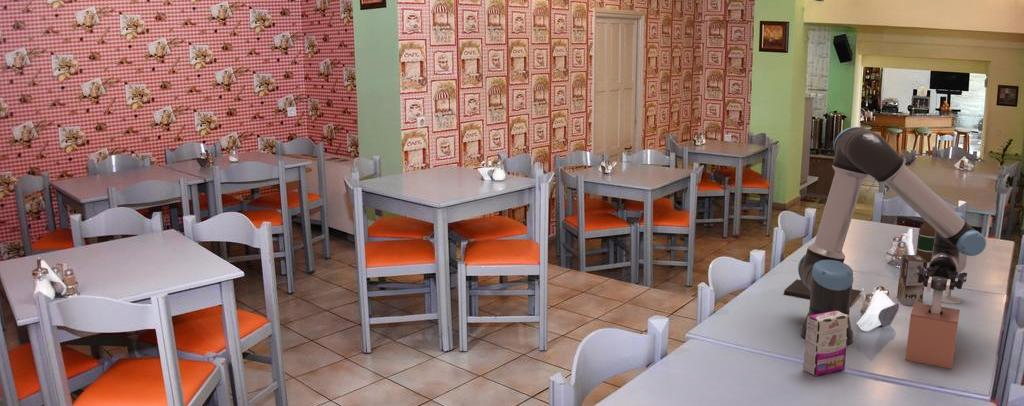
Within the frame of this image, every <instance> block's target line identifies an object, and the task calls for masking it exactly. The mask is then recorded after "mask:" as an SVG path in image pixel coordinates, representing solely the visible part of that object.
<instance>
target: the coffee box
mask: <svg viewBox="0 0 1024 406" xmlns="http://www.w3.org/2000/svg"><path fill="white" fill-rule="evenodd" d="M900 255H901V256H900V264H899V265H900V266H899V272H898V273H899V274H898V281H897V282H898V283H897V294H896V298H897V299H898V300H899V302H900V303H901V304H902V305H904V306H914V303H922V304H923V299H924V293H925V292H924V290H925V287H924V282H922V283H918V275H917V267H918V266H921V267H923V268H925V269H926V268H928V263H929V262H927V261H926V260H925V259H923V258H922V257H921V256H920V255H916V254H900ZM926 275H927V274H926V273H925V274H924V276H926Z"/></svg>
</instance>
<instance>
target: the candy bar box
mask: <svg viewBox="0 0 1024 406" xmlns="http://www.w3.org/2000/svg"><path fill="white" fill-rule="evenodd" d="M806 316H807V315H806ZM849 319H850V314H849V315H847V314H844V313H842V312H840V311H832V312H826V313H821V314H816V315H810V316H807V326H806V339H805V342H804V354H803V355H804V356H803V368H802V369H803V371H804V372H806V373H808V374H810V375H812V376H814V377H819V376H823V375H827V374H831V373H837V372H840V371H844V370H845V369H846V368H845V367H846V354H847V347H848V345H847V334H848V322H849Z"/></svg>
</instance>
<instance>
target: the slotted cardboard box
mask: <svg viewBox="0 0 1024 406" xmlns="http://www.w3.org/2000/svg"><path fill="white" fill-rule="evenodd" d="M931 307H932V304H928V303H927V304H925V303H923V302H922V303H914V306H913V307H912V309H911V313H910V318H909V326H908V334H907V343H906V351H905V360H906V361H910V362H914V363H915V362H916V363H920V364H925V365H926V364H927V365H930V366H935V367H936V366H937V367H941V368H946V369H953V364H954V357H955V349H956V341H957V333H958V328H959V327H958V326H959V319H960V310H961V309H958V308H957V309H956V308H953V307H952V308H951V307H947V306H945V307H944V306H941V311H940V314H934V313H931Z"/></svg>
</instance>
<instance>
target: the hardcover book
mask: <svg viewBox="0 0 1024 406" xmlns="http://www.w3.org/2000/svg"><path fill="white" fill-rule="evenodd" d="M861 292H862V290H859V289H853V288H852V293H851V302H850V308H852V305H854V303H855V302H856V301H857V300H858V299H859V297H860V296H861ZM810 294H811V292H810V290H809V289H808V288H807V286H805V285H804V284H803V282H802V281H801V279H798V278H797V279H796V280H794V281H793V282H791V284H790V285H788V286H787V287H786V288H785V289H784V290H783V295H784V296H789V297H793V298H799V299H804V300H805V299H806V300H809V301H810ZM856 299H857V300H856ZM855 300H856V301H855Z"/></svg>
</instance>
